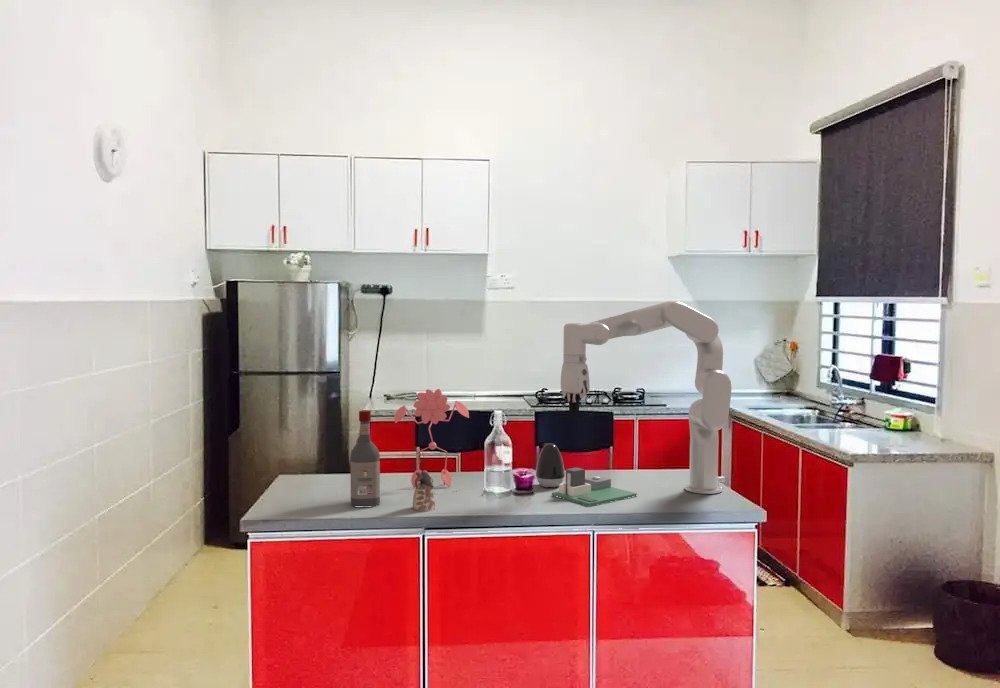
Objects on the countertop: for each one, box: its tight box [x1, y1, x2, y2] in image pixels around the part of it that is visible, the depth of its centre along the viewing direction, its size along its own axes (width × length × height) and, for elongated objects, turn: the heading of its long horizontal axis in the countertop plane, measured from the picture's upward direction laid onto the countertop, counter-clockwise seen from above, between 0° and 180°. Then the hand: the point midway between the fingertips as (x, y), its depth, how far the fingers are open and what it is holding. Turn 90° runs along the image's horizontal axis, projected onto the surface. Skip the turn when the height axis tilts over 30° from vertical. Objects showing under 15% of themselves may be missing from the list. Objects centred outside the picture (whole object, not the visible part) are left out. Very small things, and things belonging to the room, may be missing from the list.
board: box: [551, 486, 638, 507], centre depth 269 cm, size 22×18×3 cm
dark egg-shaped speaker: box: [535, 442, 566, 488], centre depth 284 cm, size 10×10×15 cm
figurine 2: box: [412, 470, 436, 512], centre depth 253 cm, size 7×7×12 cm
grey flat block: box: [585, 475, 612, 490], centre depth 278 cm, size 7×7×3 cm
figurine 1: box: [393, 388, 470, 493], centre depth 277 cm, size 15×26×35 cm, turn 96°
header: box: [558, 482, 591, 497], centre depth 269 cm, size 8×7×3 cm
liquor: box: [349, 409, 381, 507], centre depth 257 cm, size 9×9×30 cm
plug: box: [565, 467, 586, 494], centre depth 269 cm, size 6×4×8 cm
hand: (574, 413), depth 273 cm, fingers closed
